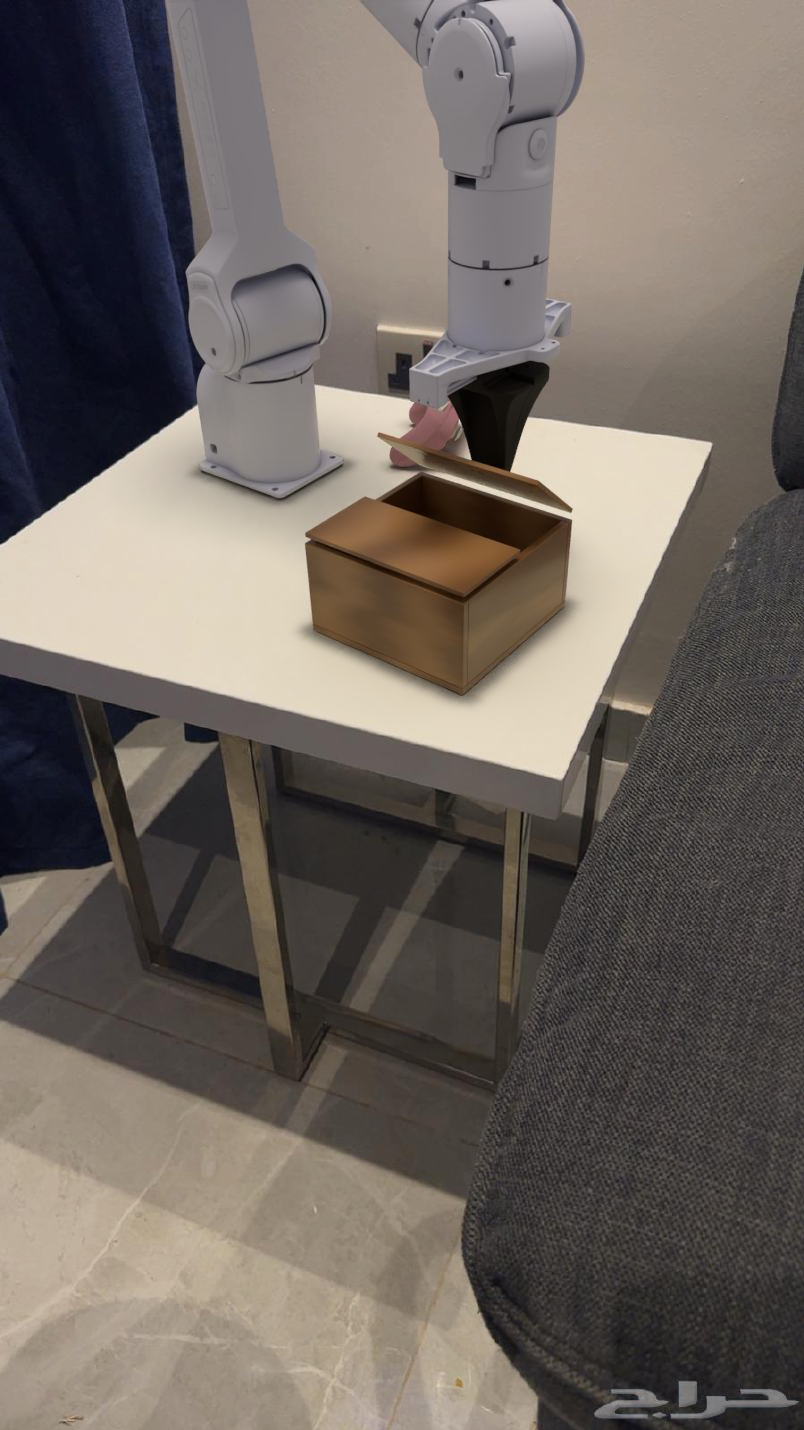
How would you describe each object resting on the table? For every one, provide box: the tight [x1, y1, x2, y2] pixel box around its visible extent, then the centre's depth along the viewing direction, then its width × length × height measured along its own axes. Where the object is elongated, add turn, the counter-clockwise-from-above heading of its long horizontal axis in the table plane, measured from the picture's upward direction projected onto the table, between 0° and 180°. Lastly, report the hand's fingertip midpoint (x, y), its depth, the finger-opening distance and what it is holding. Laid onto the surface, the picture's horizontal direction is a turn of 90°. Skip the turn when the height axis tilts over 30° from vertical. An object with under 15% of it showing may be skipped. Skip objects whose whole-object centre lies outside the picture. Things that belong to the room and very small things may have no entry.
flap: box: [376, 432, 574, 514], centre depth 65 cm, size 12×6×1 cm
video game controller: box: [389, 396, 463, 468], centre depth 87 cm, size 10×5×7 cm, turn 168°
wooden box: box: [304, 471, 573, 696], centre depth 66 cm, size 12×12×7 cm
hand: (491, 476), depth 67 cm, fingers closed
